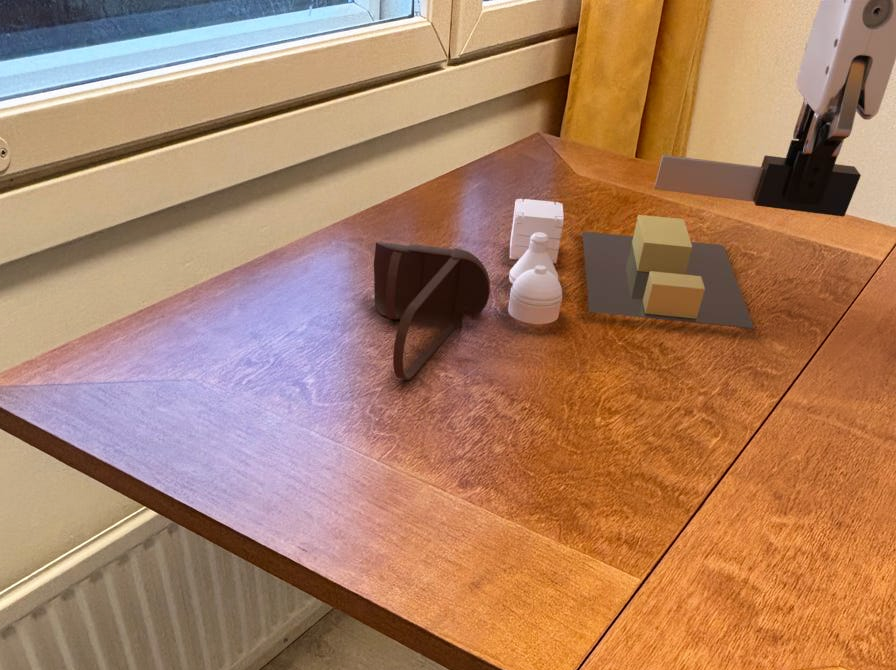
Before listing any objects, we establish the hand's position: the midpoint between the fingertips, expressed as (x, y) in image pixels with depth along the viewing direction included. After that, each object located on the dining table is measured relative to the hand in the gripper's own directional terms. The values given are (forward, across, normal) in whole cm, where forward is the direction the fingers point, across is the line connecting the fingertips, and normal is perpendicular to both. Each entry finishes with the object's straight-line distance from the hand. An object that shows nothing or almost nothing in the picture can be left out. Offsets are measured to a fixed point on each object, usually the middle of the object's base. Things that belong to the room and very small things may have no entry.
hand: (798, 194), depth 80 cm
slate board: (+12, +7, +9) cm, 17 cm away
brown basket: (+12, -12, +33) cm, 37 cm away
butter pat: (+11, -1, +9) cm, 14 cm away
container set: (+12, +3, +22) cm, 26 cm away
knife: (+1, 0, +4) cm, 4 cm away
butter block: (+11, +12, +9) cm, 19 cm away
